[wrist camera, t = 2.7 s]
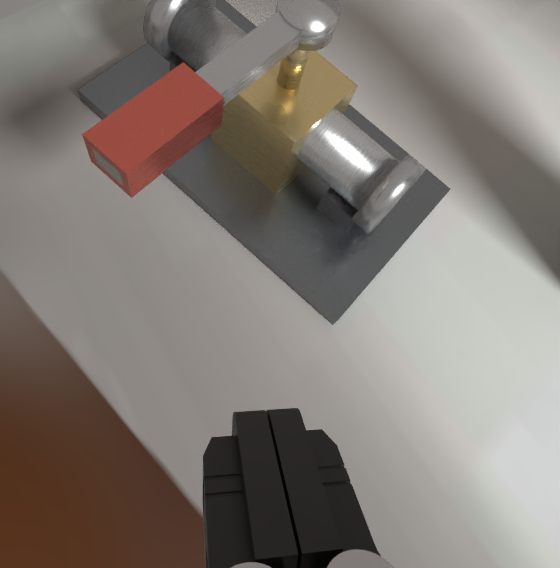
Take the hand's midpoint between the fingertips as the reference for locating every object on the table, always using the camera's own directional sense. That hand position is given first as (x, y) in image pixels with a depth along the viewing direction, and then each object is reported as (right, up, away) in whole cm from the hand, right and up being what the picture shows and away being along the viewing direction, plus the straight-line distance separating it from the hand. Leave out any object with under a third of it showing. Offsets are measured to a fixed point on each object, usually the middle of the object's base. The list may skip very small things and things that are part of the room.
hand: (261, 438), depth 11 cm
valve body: (0, +15, +30) cm, 33 cm away
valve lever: (-3, +14, +16) cm, 21 cm away
